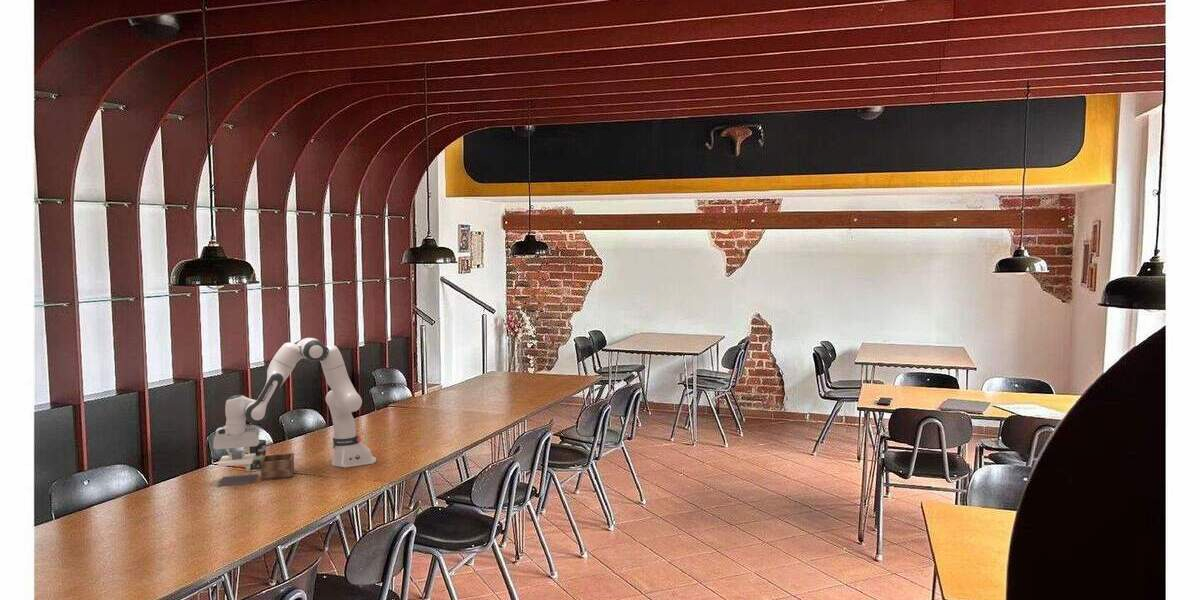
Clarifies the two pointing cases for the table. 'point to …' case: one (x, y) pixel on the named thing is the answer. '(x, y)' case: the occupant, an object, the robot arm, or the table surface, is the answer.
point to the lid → (236, 459)
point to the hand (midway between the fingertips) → (237, 456)
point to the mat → (237, 479)
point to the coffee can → (259, 451)
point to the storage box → (277, 466)
